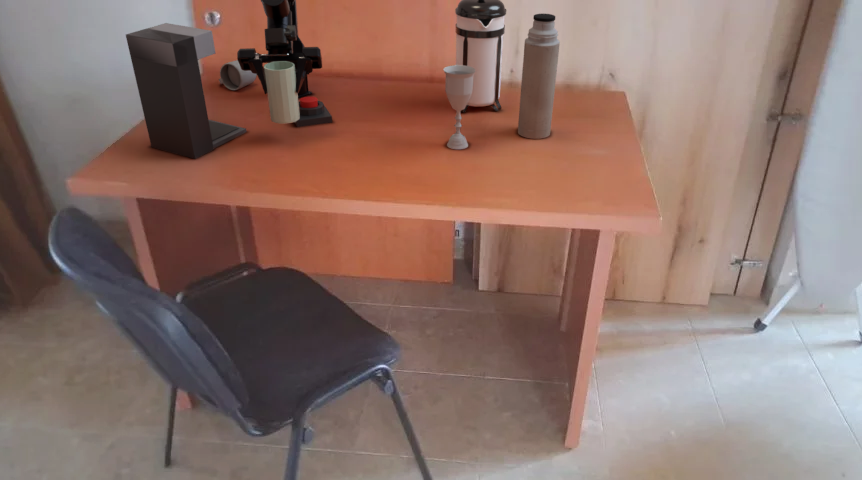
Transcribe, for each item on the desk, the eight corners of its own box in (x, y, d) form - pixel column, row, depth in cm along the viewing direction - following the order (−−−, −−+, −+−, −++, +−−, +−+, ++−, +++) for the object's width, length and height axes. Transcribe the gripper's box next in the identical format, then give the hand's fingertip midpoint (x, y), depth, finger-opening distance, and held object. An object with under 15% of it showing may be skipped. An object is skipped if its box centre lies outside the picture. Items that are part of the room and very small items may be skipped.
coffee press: (518, 103, 189) (526, -14, 173) (480, 119, 179) (486, -3, 163) (469, 89, 199) (473, -23, 183) (431, 103, 189) (431, -14, 173)
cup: (289, 110, 168) (283, 59, 161) (305, 118, 164) (300, 65, 157) (264, 118, 164) (257, 65, 157) (281, 126, 160) (274, 72, 153)
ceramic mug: (260, 83, 203) (256, 57, 199) (243, 92, 196) (238, 65, 192) (231, 79, 206) (226, 53, 202) (213, 87, 200) (208, 60, 196)
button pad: (289, 112, 183) (287, 99, 182) (322, 108, 186) (321, 95, 184) (297, 127, 175) (295, 114, 173) (332, 122, 177) (331, 109, 175)
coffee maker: (206, 122, 178) (187, 16, 163) (248, 132, 172) (232, 24, 158) (151, 147, 164) (125, 34, 150) (195, 159, 159) (172, 43, 144)
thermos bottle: (523, 124, 176) (532, 9, 161) (554, 129, 174) (566, 13, 158) (513, 135, 170) (522, 17, 155) (544, 141, 168) (556, 20, 152)
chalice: (476, 141, 167) (479, 67, 157) (468, 152, 162) (471, 75, 152) (447, 137, 169) (448, 63, 159) (438, 148, 164) (439, 72, 154)
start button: (299, 104, 180) (298, 97, 179) (315, 102, 181) (315, 95, 180) (302, 109, 176) (301, 103, 175) (319, 107, 178) (319, 101, 177)
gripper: (231, 12, 154) (232, 77, 151) (317, 10, 155) (319, 75, 152) (241, 38, 165) (242, 100, 162) (321, 36, 166) (323, 97, 163)
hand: (281, 92), depth 159 cm, fingers closed on cup, 7 cm apart
